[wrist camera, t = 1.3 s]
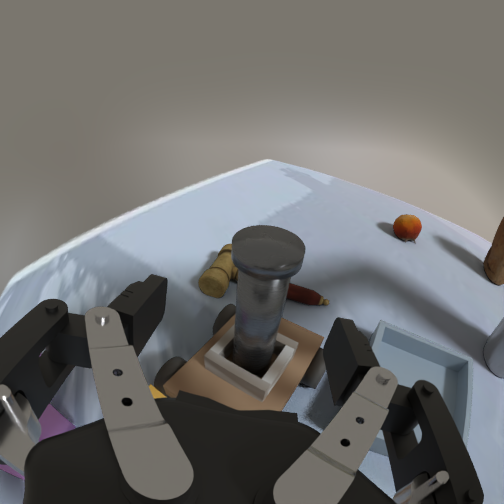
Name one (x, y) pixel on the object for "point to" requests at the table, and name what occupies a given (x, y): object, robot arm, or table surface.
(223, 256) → the gavel
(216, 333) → the wheeled pole base
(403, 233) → the fruit
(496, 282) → the block
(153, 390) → the wheel chock
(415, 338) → the tray
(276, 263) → the pin
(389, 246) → the table surface
